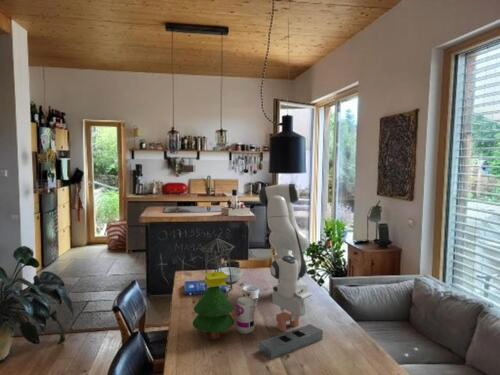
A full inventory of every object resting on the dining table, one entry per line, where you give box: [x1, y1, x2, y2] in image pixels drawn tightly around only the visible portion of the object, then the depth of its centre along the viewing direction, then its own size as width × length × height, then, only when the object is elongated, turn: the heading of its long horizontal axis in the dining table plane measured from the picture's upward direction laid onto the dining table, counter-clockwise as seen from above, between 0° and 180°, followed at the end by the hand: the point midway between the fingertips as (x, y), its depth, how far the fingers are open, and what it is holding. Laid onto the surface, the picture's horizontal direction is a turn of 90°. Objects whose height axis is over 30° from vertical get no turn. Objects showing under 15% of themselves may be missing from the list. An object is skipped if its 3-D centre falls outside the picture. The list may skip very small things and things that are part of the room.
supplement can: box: [236, 296, 255, 334], centre depth 174 cm, size 8×8×15 cm
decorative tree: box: [191, 271, 235, 340], centre depth 168 cm, size 19×19×30 cm
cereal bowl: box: [219, 266, 243, 284], centre depth 244 cm, size 17×17×7 cm
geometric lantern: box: [200, 237, 235, 298], centre depth 214 cm, size 16×16×35 cm
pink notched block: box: [275, 310, 300, 332], centre depth 178 cm, size 12×4×7 cm, turn 125°
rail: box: [258, 323, 324, 360], centre depth 161 cm, size 30×8×4 cm, turn 125°
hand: (288, 318), depth 178 cm, fingers open, 4 cm apart
